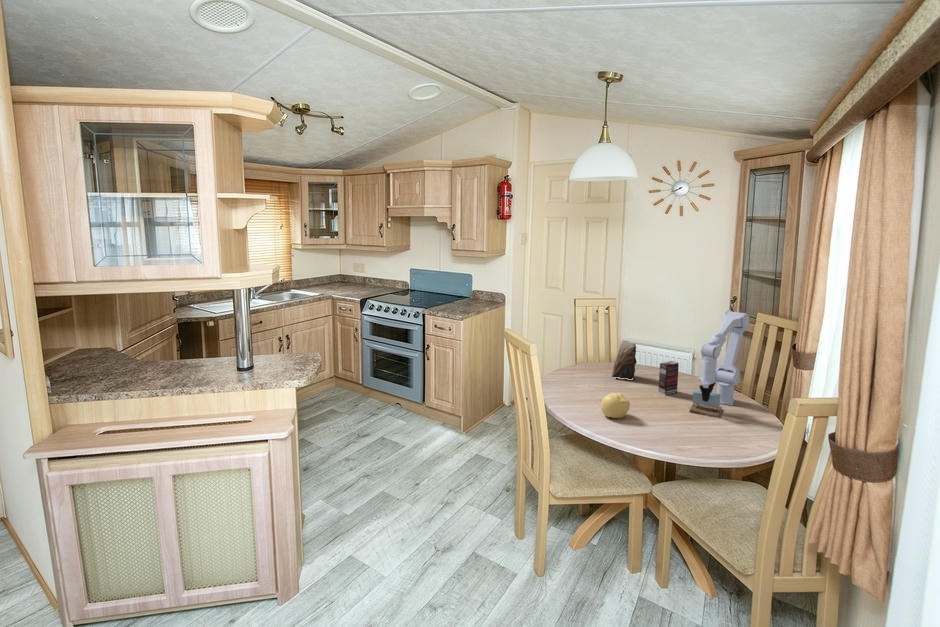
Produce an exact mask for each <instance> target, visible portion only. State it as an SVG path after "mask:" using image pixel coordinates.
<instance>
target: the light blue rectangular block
mask: <svg viewBox="0 0 940 627" xmlns="http://www.w3.org/2000/svg"><path fill="white" fill-rule="evenodd" d="M720 396H721V394H717V392H712V393H710V397H709V400H708V402H706V401H703V399H702V393H701V390H700V389H699V390H697V389H694V390H693V392H692V402H691V403H692V404H693V403H698V404H703V405H709V406H715V407H720V404H721V403H720Z"/></svg>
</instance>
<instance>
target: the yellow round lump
mask: <svg viewBox="0 0 940 627" xmlns="http://www.w3.org/2000/svg"><path fill="white" fill-rule="evenodd" d="M630 405H631V403H630V400H629V399H627V397H626V396H625V395H623V394H622V393H621V392H620V393H619V392H611V393H609V394H607V395H605V396H604V397H603V398H602V400H601V403H600V407H601V412H602V413H603V415H604V416H605V417H607V418H610V417H611V418H612V419H622V418H624V417H625V416H626V415H627V413H628V411H629V410H630V408H631V406H630Z"/></svg>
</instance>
